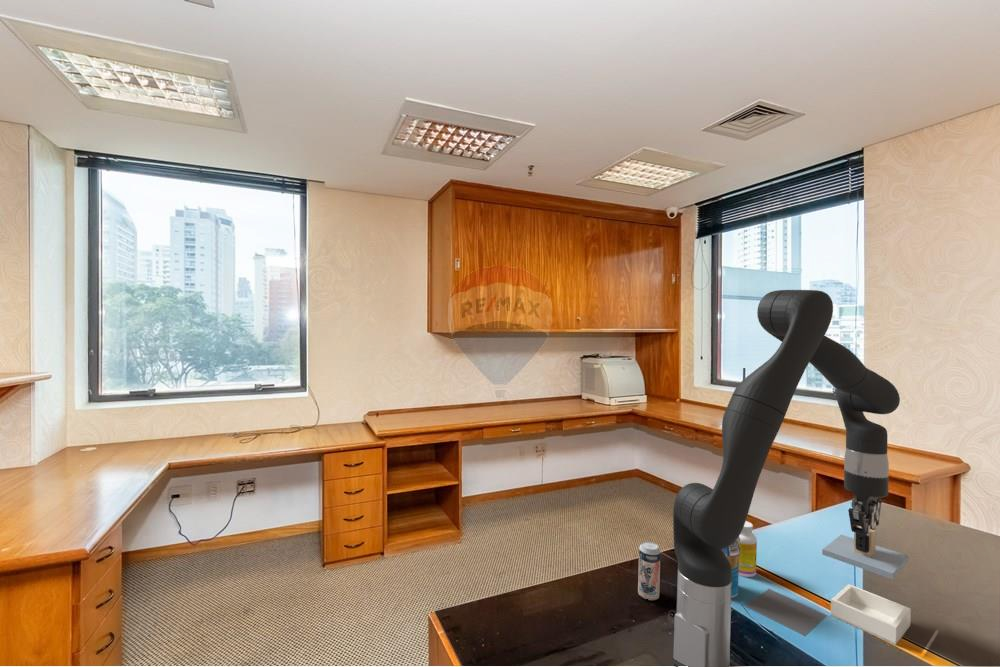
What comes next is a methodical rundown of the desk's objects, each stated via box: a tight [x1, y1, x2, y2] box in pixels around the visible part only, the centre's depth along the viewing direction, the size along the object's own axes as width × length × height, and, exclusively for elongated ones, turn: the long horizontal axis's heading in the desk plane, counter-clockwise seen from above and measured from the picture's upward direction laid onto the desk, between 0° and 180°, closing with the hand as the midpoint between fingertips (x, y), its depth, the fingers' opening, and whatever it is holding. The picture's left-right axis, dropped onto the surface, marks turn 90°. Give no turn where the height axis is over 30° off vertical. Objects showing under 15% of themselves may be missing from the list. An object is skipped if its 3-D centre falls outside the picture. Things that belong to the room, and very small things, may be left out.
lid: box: [821, 526, 909, 580], centre depth 97 cm, size 12×12×6 cm
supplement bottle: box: [738, 520, 758, 578], centre depth 116 cm, size 7×7×13 cm
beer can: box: [637, 541, 661, 601], centre depth 104 cm, size 5×5×12 cm
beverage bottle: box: [722, 537, 740, 599], centre depth 107 cm, size 8×8×20 cm
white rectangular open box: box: [830, 583, 912, 646], centre depth 96 cm, size 11×11×4 cm
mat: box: [744, 588, 828, 637], centre depth 99 cm, size 12×12×1 cm
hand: (865, 548), depth 97 cm, fingers closed on lid, 3 cm apart
